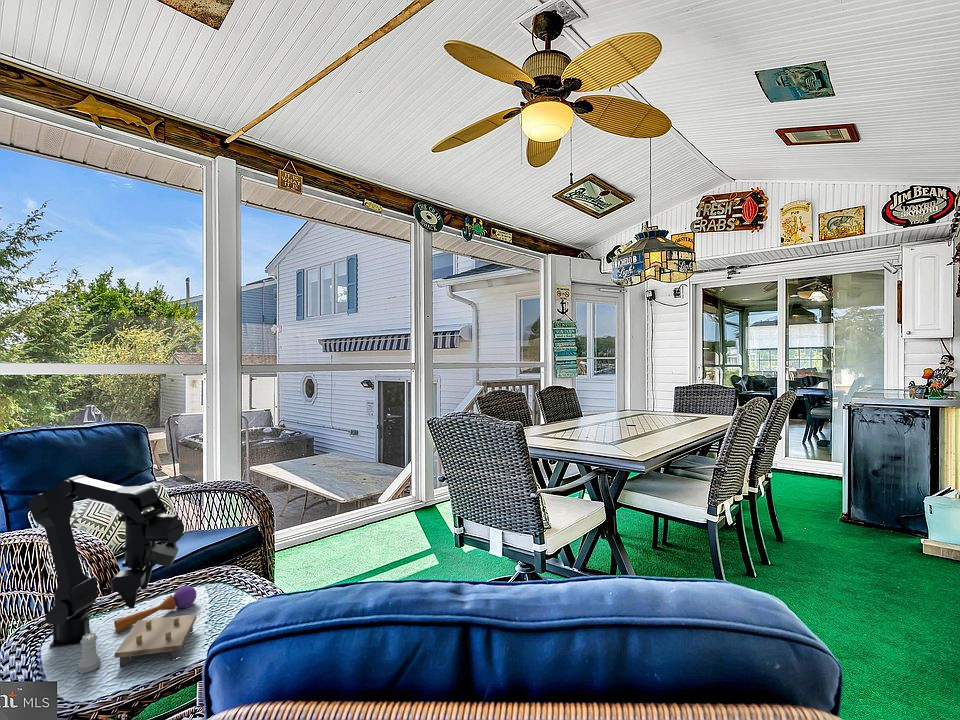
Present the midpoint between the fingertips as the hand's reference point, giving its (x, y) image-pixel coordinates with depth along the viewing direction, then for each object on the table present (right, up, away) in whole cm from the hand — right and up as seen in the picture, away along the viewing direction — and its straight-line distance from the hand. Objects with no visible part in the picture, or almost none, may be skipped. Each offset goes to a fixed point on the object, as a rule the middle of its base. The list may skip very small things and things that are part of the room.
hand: (138, 598), depth 128 cm
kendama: (-4, -12, +15) cm, 20 cm away
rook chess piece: (-6, -13, -8) cm, 17 cm away
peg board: (+5, -13, +1) cm, 14 cm away
